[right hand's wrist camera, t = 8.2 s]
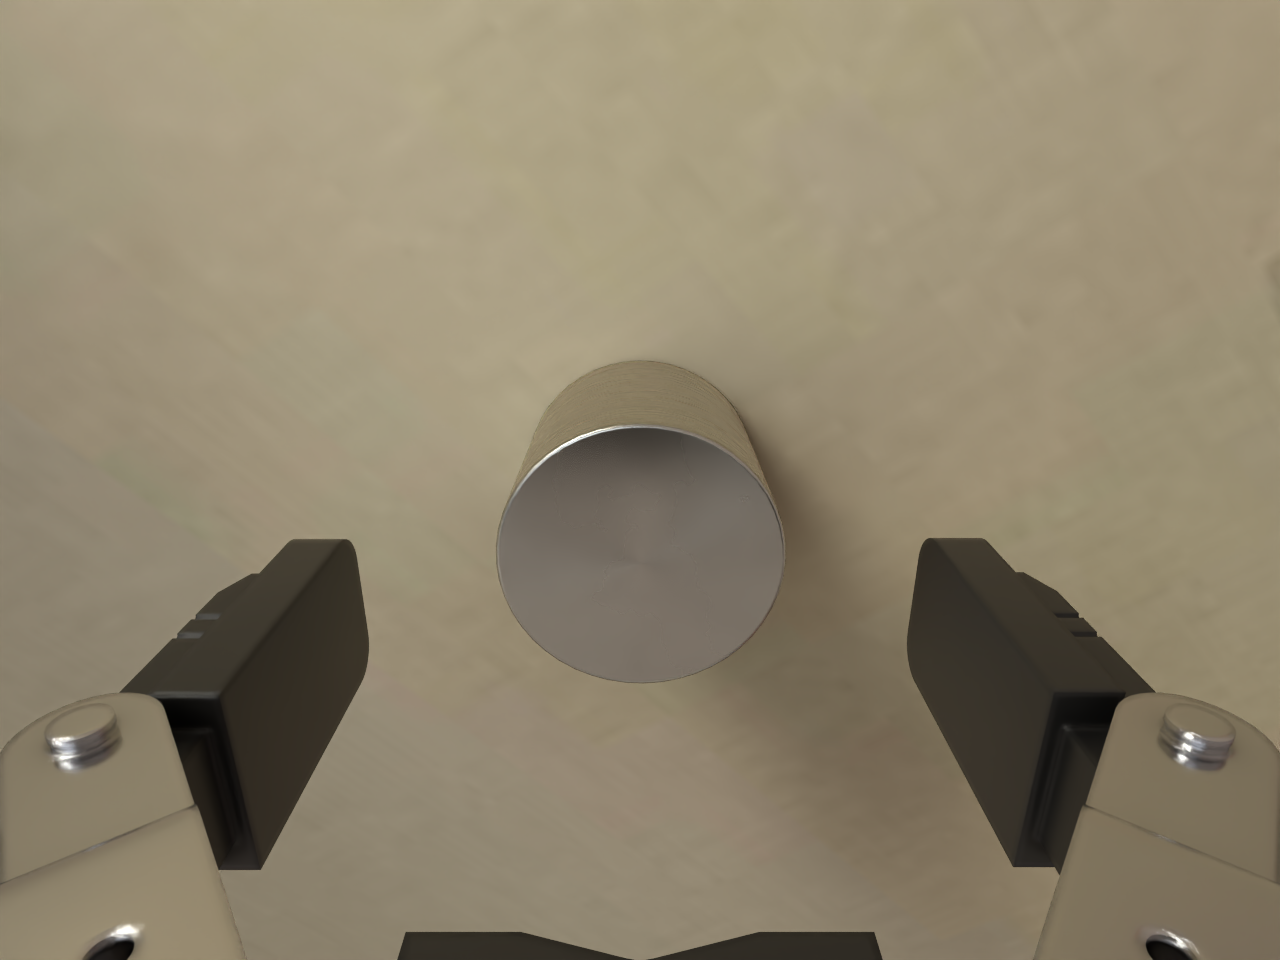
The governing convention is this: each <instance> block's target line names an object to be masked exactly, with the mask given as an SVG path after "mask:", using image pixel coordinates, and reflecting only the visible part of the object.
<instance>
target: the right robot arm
mask: <svg viewBox="0 0 1280 960" xmlns="http://www.w3.org/2000/svg"><path fill="white" fill-rule="evenodd" d="M177 635H178V636H177V639H172V640H171V641H170V642H169V643H168V644H167V645H166V646H165V647H164V648H163V649H162V650H161V651H160V652H159V653H158V654H157V655H156V656H155V657H154V658H153V659H152V660H151V661H150V662H149V663H148V664H147V665H146V666H145V667H144V668H143V669H142V670H141V671H140V672H139V673H138V674H137V675H136V676H135V677H134V678H133V679H132V680H131V681H130V682H129V683H128V684H127V685H126V686H125V687H124V688H123V689H122V690H121V691H120V692H119V693H113V694H105V695H100V696H95V697H91V698H87V699H84V700H80V701H77V702H74V703H71V704H69V705H66V706H63V707H61V708H59V709H57V710H54V711H52V712H50V713H48V714H46V715H44V716H42V717H41V718H39V719H37V720H35V721H34V722H32V723H31V724H29V725H28V726H26V727H25V728H24V729H22V730H21V731H20V732H18V733H17V734H16V735H15V736H14V737H13V738H12V739H11V740H10V741H9V742H8V743H7V744H6V745H5V747H4V748H3V749H2V751H1V753H0V960H247V958H246V955H245V952H244V949H243V945H242V942H241V939H240V936H239V933H238V930H237V927H236V924H235V920H234V917H233V914H232V911H231V908H230V905H229V902H228V899H227V895H226V892H225V889H224V886H223V883H222V880H221V877H220V874H219V870H261V868H262V866H263V865H264V863H265V861H266V859H267V857H268V855H269V853H270V852H271V850H272V848H273V846H274V844H275V842H276V840H277V839H278V837H279V835H280V833H281V831H282V829H283V827H284V826H285V824H286V822H287V820H288V818H289V816H290V814H291V813H292V811H293V809H294V807H295V805H296V803H297V801H298V800H299V798H300V796H301V794H302V792H303V790H304V788H305V786H306V785H307V783H308V781H309V779H310V777H311V775H312V773H313V772H314V770H315V768H316V766H317V764H318V762H319V760H320V759H321V757H322V755H323V753H324V751H325V749H326V747H327V746H328V744H329V742H330V740H331V738H332V736H333V734H334V733H335V731H336V729H337V727H338V725H339V723H340V721H341V720H342V718H343V716H344V714H345V712H346V710H347V708H348V707H349V705H350V703H351V701H352V699H353V697H354V695H355V694H356V692H357V690H358V688H359V686H360V684H361V682H362V680H363V678H364V675H365V672H366V668H367V662H368V654H369V637H368V630H367V623H366V616H365V609H364V603H363V596H362V589H361V582H360V576H359V569H358V562H357V556H356V552H355V549H354V547H353V545H352V543H351V542H350V541H349V540H347V539H293V540H291V541H290V542H288V543H287V544H286V545H285V547H284V548H283V549H282V550H281V551H280V552H279V553H278V554H277V555H276V556H275V557H274V558H273V559H272V560H271V562H270V563H269V564H268V565H267V566H266V567H265V568H264V569H263V570H262V571H261V572H260V573H259V574H250V575H249V576H247V577H245V578H243V579H241V580H240V581H238V582H236V583H234V584H232V585H231V586H229V587H227V588H225V589H224V590H222V591H220V592H218V593H217V594H216V595H215V596H214V597H213V598H212V599H211V600H210V601H209V602H208V603H207V604H206V605H205V606H204V607H203V608H202V609H201V610H200V611H199V612H198V613H197V614H196V619H195V620H190V621H189V622H188V623H187V624H186V625H185V626H184V628H183V629H182V630H181V631H180V632H179V633H178V634H177ZM907 653H908V661H909V667H910V671H911V674H912V677H913V679H914V681H915V683H916V685H917V687H918V689H919V691H920V693H921V694H922V696H923V698H924V700H925V702H926V704H927V706H928V708H929V709H930V711H931V713H932V715H933V717H934V719H935V721H936V723H937V725H938V726H939V728H940V730H941V732H942V734H943V736H944V738H945V740H946V741H947V743H948V745H949V747H950V749H951V751H952V753H953V755H954V756H955V758H956V760H957V762H958V764H959V766H960V768H961V770H962V772H963V773H964V775H965V777H966V779H967V781H968V783H969V785H970V787H971V788H972V790H973V792H974V794H975V796H976V798H977V800H978V802H979V804H980V805H981V807H982V809H983V811H984V813H985V815H986V817H987V819H988V820H989V822H990V824H991V826H992V828H993V830H994V832H995V834H996V836H997V837H998V839H999V841H1000V843H1001V845H1002V847H1003V849H1004V851H1005V852H1006V854H1007V856H1008V858H1009V860H1010V862H1011V864H1012V866H1013V867H1055V868H1056V870H1057V872H1058V873H1059V875H1060V877H1059V880H1058V883H1057V886H1056V889H1055V892H1054V895H1053V899H1052V902H1051V905H1050V908H1049V911H1048V914H1047V917H1046V920H1045V924H1044V927H1043V930H1042V933H1041V936H1040V939H1039V942H1038V945H1037V949H1036V952H1035V955H1034V958H1033V960H1280V753H1279V751H1278V749H1277V748H1276V747H1275V745H1274V744H1273V743H1272V742H1271V741H1270V740H1269V739H1268V738H1267V737H1266V736H1265V735H1264V734H1263V733H1262V732H1260V731H1259V730H1258V729H1256V728H1255V727H1254V726H1252V725H1251V724H1249V723H1248V722H1246V721H1245V720H1243V719H1241V718H1239V717H1238V716H1236V715H1234V714H1232V713H1230V712H1228V711H1226V710H1223V709H1221V708H1219V707H1217V706H1214V705H1211V704H1209V703H1206V702H1203V701H1200V700H1196V699H1193V698H1189V697H1185V696H1180V695H1175V694H1167V693H1156V692H1155V691H1154V690H1153V689H1152V688H1151V687H1150V686H1149V685H1148V684H1147V683H1146V682H1145V681H1144V680H1143V679H1142V678H1141V677H1140V676H1139V675H1138V674H1137V673H1136V672H1135V671H1134V670H1133V669H1132V668H1131V666H1130V665H1129V664H1128V663H1127V662H1126V661H1125V660H1124V659H1123V658H1122V657H1121V656H1120V655H1119V654H1118V653H1117V652H1116V651H1115V650H1114V649H1113V648H1112V647H1111V646H1110V645H1109V644H1108V643H1107V642H1106V641H1105V640H1104V639H1103V638H1102V637H1097V632H1096V631H1095V630H1094V629H1093V628H1092V627H1091V626H1090V625H1089V624H1088V622H1087V621H1086V620H1085V619H1084V618H1079V613H1078V612H1077V611H1076V610H1075V609H1074V608H1073V607H1072V606H1071V605H1070V604H1069V603H1068V602H1067V601H1066V600H1065V599H1064V598H1063V597H1062V596H1061V595H1060V594H1059V593H1058V592H1057V591H1056V590H1054V589H1052V588H1050V587H1048V586H1047V585H1045V584H1043V583H1041V582H1040V581H1038V580H1036V579H1034V578H1032V577H1031V576H1029V575H1027V574H1025V573H1024V572H1015V571H1014V570H1013V569H1012V568H1011V567H1010V566H1009V565H1008V564H1007V562H1006V561H1005V560H1004V559H1003V558H1002V557H1001V556H1000V555H999V554H998V553H997V552H996V551H995V549H994V548H993V547H992V546H991V545H990V544H989V543H988V542H987V541H986V540H985V539H982V538H928V539H926V540H925V541H924V543H923V545H922V547H921V550H920V554H919V559H918V566H917V573H916V580H915V586H914V593H913V600H912V607H911V614H910V621H909V628H908V635H907ZM397 960H632V959H626V958H622V957H618V956H614V955H610V954H606V953H602V952H598V951H594V950H590V949H586V948H582V947H578V946H574V945H570V944H566V943H562V942H558V941H554V940H550V939H546V938H542V937H538V936H534V935H530V934H526V933H522V932H406V933H405V937H404V940H403V943H402V946H401V950H400V953H399V956H398V959H397ZM648 960H883V959H882V956H881V953H880V950H879V946H878V943H877V940H876V937H875V933H874V932H757V933H754V934H750V935H746V936H742V937H738V938H734V939H730V940H726V941H722V942H718V943H714V944H710V945H706V946H702V947H698V948H694V949H690V950H686V951H682V952H678V953H674V954H670V955H666V956H662V957H658V958H654V959H648Z"/></svg>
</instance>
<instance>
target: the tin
mask: <svg viewBox="0 0 1280 960" xmlns="http://www.w3.org/2000/svg"><path fill="white" fill-rule="evenodd" d="M785 561H786V544H785V536H784V530H783V524H782V521H781V518H780V515H779V512H778V509H777V506H776V504H775V501H774V499H773V496H772V494H771V491H770V489H769V486H768V484H767V482H766V479H765V477H764V474H763V472H762V469H761V467H760V464H759V462H758V460H757V457H756V455H755V452H754V450H753V447H752V445H751V442H750V440H749V438H748V435H747V433H746V430H745V428H744V426H743V424H742V422H741V420H740V418H739V416H738V414H737V413H736V411H735V410H734V408H733V407H732V405H731V404H730V402H729V401H728V400H727V399H726V398H725V397H724V396H723V395H722V394H721V392H719V391H718V390H717V389H716V388H715V387H713V386H712V385H711V384H710V383H708V382H707V381H705V380H704V379H702V378H701V377H699V376H698V375H696V374H693V373H691V372H689V371H687V370H685V369H683V368H679V367H676V366H673V365H670V364H665V363H659V362H653V361H630V362H621V363H617V364H612V365H608V366H605V367H602V368H599V369H597V370H594V371H592V372H590V373H588V374H586V375H584V376H582V377H581V378H579V379H578V380H576V381H575V382H573V383H572V384H570V385H569V386H568V387H567V388H566V389H565V390H563V391H562V392H561V393H560V394H559V395H558V396H557V397H556V399H555V400H554V401H553V402H552V403H551V405H550V406H549V407H548V409H547V410H546V412H545V414H544V415H543V417H542V418H541V420H540V423H539V425H538V427H537V429H536V432H535V434H534V437H533V439H532V442H531V444H530V447H529V449H528V451H527V454H526V456H525V459H524V461H523V464H522V466H521V469H520V471H519V474H518V476H517V479H516V481H515V484H514V486H513V488H512V491H511V493H510V496H509V498H508V501H507V503H506V506H505V508H504V511H503V514H502V517H501V521H500V524H499V528H498V534H497V542H496V564H497V570H498V576H499V581H500V584H501V587H502V591H503V594H504V596H505V599H506V601H507V603H508V605H509V607H510V609H511V611H512V613H513V614H514V616H515V617H516V619H517V620H518V622H519V623H520V625H521V626H522V628H523V629H524V630H525V631H526V632H527V633H528V635H529V636H530V637H531V638H532V639H533V640H534V641H535V642H536V643H537V644H538V645H539V646H541V647H542V648H543V649H544V650H545V651H546V652H548V653H549V654H551V655H552V656H554V657H555V658H556V659H558V660H559V661H561V662H563V663H565V664H567V665H569V666H570V667H572V668H574V669H576V670H579V671H582V672H584V673H587V674H589V675H592V676H596V677H599V678H603V679H607V680H612V681H619V682H626V683H653V682H663V681H669V680H674V679H679V678H683V677H686V676H689V675H693V674H696V673H698V672H700V671H703V670H705V669H707V668H710V667H712V666H713V665H715V664H717V663H719V662H720V661H722V660H724V659H726V658H727V657H728V656H730V655H731V654H732V653H734V652H735V651H736V650H738V649H739V648H740V647H741V646H742V645H743V644H744V643H746V642H747V641H748V640H749V639H750V638H751V637H752V636H753V634H754V633H755V632H756V631H757V630H758V628H759V627H760V626H761V625H762V623H763V622H764V620H765V619H766V617H767V615H768V614H769V612H770V610H771V609H772V607H773V605H774V602H775V600H776V598H777V595H778V593H779V590H780V587H781V583H782V579H783V576H784V569H785Z"/></svg>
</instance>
